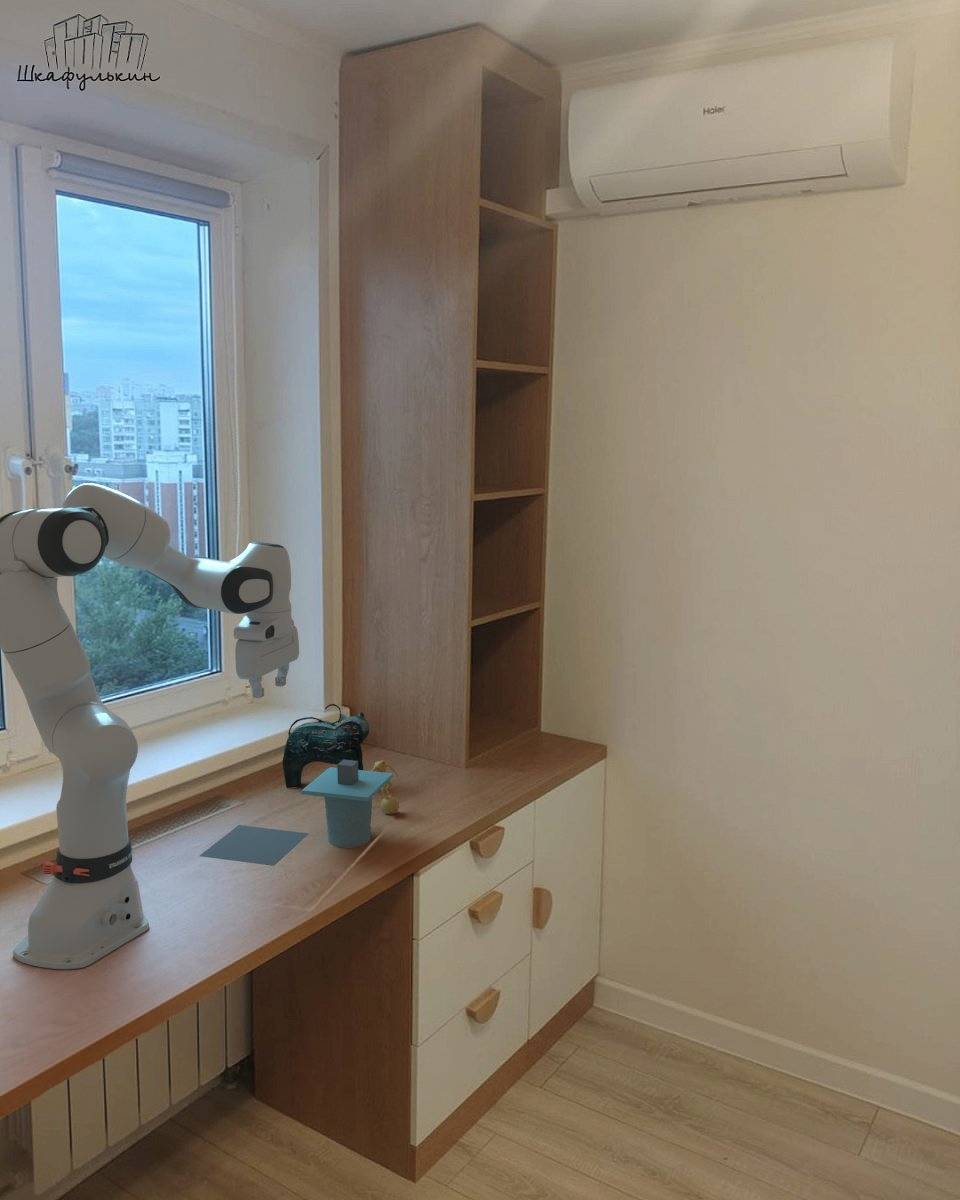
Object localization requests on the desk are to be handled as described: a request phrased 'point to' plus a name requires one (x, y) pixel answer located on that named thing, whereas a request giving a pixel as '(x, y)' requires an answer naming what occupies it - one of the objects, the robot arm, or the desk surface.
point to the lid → (347, 782)
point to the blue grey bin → (348, 821)
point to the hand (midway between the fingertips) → (269, 691)
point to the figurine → (388, 803)
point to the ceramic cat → (323, 744)
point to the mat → (255, 845)
